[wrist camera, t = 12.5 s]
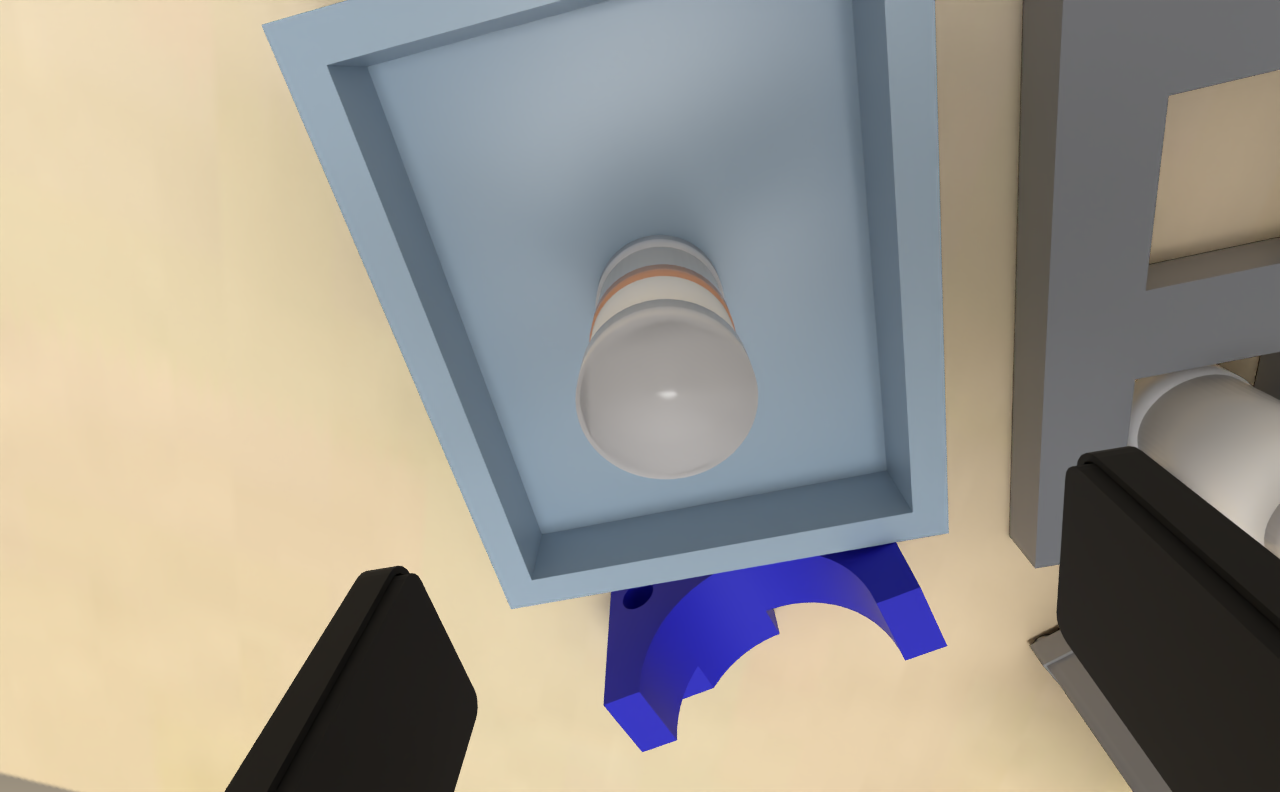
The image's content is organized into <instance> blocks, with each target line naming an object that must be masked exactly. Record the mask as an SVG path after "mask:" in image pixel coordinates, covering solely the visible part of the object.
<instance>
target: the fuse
mask: <svg viewBox="0 0 1280 792" xmlns="http://www.w3.org/2000/svg"><path fill="white" fill-rule="evenodd" d="M1127 446H1133V447H1136V448H1138V449H1140V450H1141V451H1143V452H1144V453H1145V454H1147V455H1148V456H1149V457H1150V458H1152V459H1153V460H1154V461H1156V462H1157V463H1158V464H1159V465H1161V466H1162V467H1163V468H1164V469H1166V470H1167V471H1168V472H1170V473H1171V474H1172V475H1173V476H1175V477H1176V478H1177V479H1179V480H1180V481H1181V482H1182V483H1184V484H1185V485H1186V486H1187V487H1189V488H1190V489H1191V490H1193V491H1194V492H1195V493H1196V494H1198V495H1199V496H1200V497H1201V498H1203V499H1204V500H1205V501H1207V502H1208V503H1209V504H1210V505H1212V506H1213V507H1214V508H1216V509H1217V510H1218V511H1219V512H1221V513H1222V514H1223V515H1224V516H1226V517H1227V518H1228V519H1230V520H1231V521H1232V522H1233V523H1235V524H1236V525H1237V526H1239V527H1240V528H1241V529H1242V530H1244V531H1245V532H1246V533H1247V534H1249V535H1250V536H1251V537H1253V538H1254V539H1255V540H1256V541H1258V542H1259V543H1260V544H1261V545H1263V546H1264V547H1265V548H1267V549H1268V550H1269V551H1270V552H1272V553H1273V554H1274V555H1276V556H1277V557H1278V558H1279V559H1280V400H1278V399H1276V398H1274V397H1272V396H1271V395H1269V394H1267V393H1265V392H1263V391H1261V390H1259V389H1257V388H1255V387H1253V386H1251V385H1250V384H1249V383H1248V382H1247V381H1246V380H1245V379H1243V378H1242V377H1240V376H1238V375H1236V374H1234V373H1232V372H1230V371H1228V370H1226V369H1224V368H1222V367H1220V366H1218V365H1216V364H1213V365H1208V366H1203V367H1198V368H1193V369H1187V370H1182V371H1177V372H1172V373H1167V374H1161V375H1156V376H1151V377H1146V378H1141V379H1138V380H1137V381H1135V385H1134V393H1133V402H1132V410H1131V419H1130V427H1129V436H1128V444H1127Z"/></svg>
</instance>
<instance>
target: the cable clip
mask: <svg viewBox="0 0 1280 792" xmlns="http://www.w3.org/2000/svg"><path fill="white" fill-rule="evenodd" d="M808 602H816V603H827V604H833V605H838V606H842V607H845V608H848V609H851V610H853V611H856V612H858V613H860V614H862V615H864V616H866V617H867V618H869V619H870V620H872V621H873V622H875V623H876V624H877V625H878V626H880V627H881V628H882V629H883V630H884V631H885V632H886V633H887V634H888V635H889V636H890V637H891V638H892V640H893V641H894V642H895V644H896V645H897V647H898V648H899V650H900V651H901V653H902V655H903V657H904V659H905V660H908V659H911V658H914V657H917V656H920V655H923V654H925V653H928V652H931V651H934V650H937V649H940V648H943V647H946V646H947V644H946V642H945V640H944V638H943V636H942V633H941V631H940V629H939V627H938V625H937V623H936V620H935V618H934V616H933V614H932V612H931V610H930V607H929V605H928V603H927V601H926V599H925V597H924V594H923V592H922V590H921V588H920V586H919V584H918V582H917V580H916V579H915V577H914V575H913V573H912V571H911V569H910V567H909V566H908V564H907V562H906V560H905V558H904V556H903V555H902V553H901V551H900V549H899V547H898V545H897V543H896V542H894V543H889V544H883V545H877V546H871V547H866V548H860V549H854V550H848V551H843V552H837V553H831V554H825V555H820V556H814V557H808V558H802V559H797V560H791V561H785V562H779V563H774V564H768V565H762V566H756V567H751V568H745V569H739V570H733V571H727V572H722V573H716V574H710V575H704V576H699V577H693V578H687V579H681V580H676V581H670V582H664V583H658V584H653V585H647V586H641V587H635V588H630V589H624V590H618V591H612V592H611V602H610V617H609V632H608V646H607V661H606V676H605V691H604V706H605V707H606V709H607V710H608V711H609V712H610V714H611V715H612V716H613V717H614V718H615V720H616V721H617V722H618V723H619V724H620V726H621V727H622V728H623V729H624V731H625V732H626V733H627V734H628V735H629V737H630V738H631V739H632V740H633V741H634V743H635V744H636V745H637V746H638V747H639V749H640V750H641V751H642V752H644V751H647V750H650V749H653V748H656V747H659V746H662V745H664V744H667V743H670V742H673V741H676V740H677V724H678V716H679V711H680V706H681V702H682V699H684V698H687V697H690V696H693V695H695V694H698V693H701V692H704V691H706V690H709V689H712V688H714V687H715V685H716V684H717V682H718V681H719V679H720V678H721V677H722V675H723V674H724V673H725V672H726V671H727V670H728V668H729V667H730V666H731V665H732V664H733V663H734V662H735V661H736V660H737V659H739V658H740V657H741V656H742V655H743V654H745V653H746V652H747V651H749V650H750V649H751V648H753V647H754V646H756V645H758V644H759V643H761V642H763V641H764V640H767V639H769V638H771V637H773V636H775V635H778V634H780V633H779V629H778V625H777V621H776V617H775V613H774V610H773V608H777V607H780V606H784V605H789V604H795V603H808Z"/></svg>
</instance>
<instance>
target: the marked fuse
mask: <svg viewBox="0 0 1280 792" xmlns="http://www.w3.org/2000/svg"><path fill="white" fill-rule="evenodd" d="M595 307H596V310H595V313H594V317H593V322H592V327H591V331H590V339H589V344H588V346H587V348H586V350H585V353H584V356H583V359H582V364H581V368H580V373H579V377H578V382H577V387H576V397H575V402H576V412H577V416H578V420H579V423H580V425H581V428H582V431H583V432H584V434H585V436H586V438H587V439H588V441H589V442H590V444H591V445H592V446H593V448H594V449H595V450H596V451H597V452H598V453H599V454H600V455H601V456H602V457H604V458H605V459H606V460H607V461H609V462H610V463H612V464H613V465H615V466H617V467H618V468H620V469H622V470H624V471H627V472H629V473H632V474H635V475H638V476H641V477H646V478H652V479H678V478H685V477H689V476H693V475H697V474H699V473H702V472H705V471H707V470H709V469H711V468H713V467H715V466H717V465H718V464H720V463H721V462H723V461H724V460H726V459H727V458H728V457H729V456H730V455H731V454H733V453H734V452H735V451H736V449H737V448H738V447H739V446H740V445H741V444H742V442H743V441H744V439H745V438H746V437H747V435H748V433H749V431H750V429H751V427H752V425H753V422H754V419H755V416H756V412H757V407H758V387H757V381H756V377H755V373H754V371H753V368H752V365H751V363H750V360H749V357H748V355H747V352H746V350H745V347H744V345H743V343H742V341H741V339H740V338H739V336H738V334H737V333H736V331H735V327H734V323H733V320H732V317H731V314H730V311H729V309H728V306H727V304H726V302H725V299H724V292H723V288H722V285H721V282H720V280H719V277H718V274H717V272H716V269H715V267H714V266H713V264H712V262H711V261H710V259H709V258H708V257H707V256H706V255H705V254H704V253H703V252H702V251H701V250H700V249H699V248H698V247H696V246H695V245H694V244H692V243H690V242H688V241H686V240H683V239H681V238H678V237H674V236H668V235H652V236H646V237H642V238H639V239H636V240H634V241H632V242H630V243H628V244H627V245H625V246H623V247H622V248H621V249H620V250H618V251H617V252H616V253H615V254H614V255H613V256H612V258H611V259H610V260H609V262H608V263H607V264H606V266H605V268H604V270H603V272H602V275H601V278H600V281H599V286H598V291H597V295H596V305H595Z"/></svg>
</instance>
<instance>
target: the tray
mask: <svg viewBox="0 0 1280 792" xmlns="http://www.w3.org/2000/svg"><path fill="white" fill-rule="evenodd" d="M262 27H263V30H264V32H265V34H266V37H267V39H268V41H269V44H270V46H271V48H272V51H273V53H274V55H275V58H276V60H277V62H278V65H279V67H280V69H281V72H282V74H283V76H284V79H285V81H286V83H287V86H288V88H289V90H290V93H291V95H292V98H293V100H294V102H295V105H296V107H297V109H298V112H299V114H300V116H301V119H302V121H303V123H304V126H305V128H306V130H307V133H308V135H309V137H310V140H311V142H312V144H313V147H314V149H315V151H316V154H317V156H318V158H319V161H320V163H321V165H322V168H323V170H324V172H325V175H326V177H327V179H328V182H329V184H330V186H331V189H332V191H333V193H334V196H335V198H336V201H337V203H338V205H339V208H340V210H341V212H342V215H343V217H344V219H345V222H346V224H347V226H348V229H349V231H350V233H351V236H352V238H353V240H354V243H355V245H356V247H357V250H358V252H359V254H360V257H361V259H362V261H363V264H364V266H365V268H366V271H367V273H368V275H369V278H370V280H371V282H372V285H373V287H374V289H375V292H376V294H377V296H378V299H379V301H380V303H381V306H382V308H383V311H384V313H385V315H386V318H387V320H388V322H389V325H390V327H391V329H392V332H393V334H394V336H395V339H396V341H397V343H398V346H399V348H400V350H401V353H402V355H403V357H404V360H405V362H406V364H407V367H408V369H409V371H410V374H411V376H412V378H413V381H414V383H415V385H416V388H417V390H418V392H419V395H420V397H421V399H422V402H423V404H424V406H425V409H426V411H427V413H428V416H429V418H430V421H431V423H432V425H433V428H434V430H435V432H436V435H437V437H438V439H439V442H440V444H441V446H442V449H443V451H444V453H445V456H446V458H447V460H448V463H449V465H450V467H451V470H452V472H453V474H454V477H455V479H456V481H457V484H458V486H459V488H460V491H461V493H462V495H463V498H464V500H465V502H466V505H467V507H468V509H469V512H470V514H471V516H472V519H473V521H474V523H475V526H476V528H477V531H478V533H479V535H480V538H481V540H482V542H483V545H484V547H485V549H486V552H487V554H488V556H489V559H490V561H491V563H492V566H493V568H494V570H495V573H496V575H497V577H498V580H499V582H500V584H501V587H502V589H503V591H504V594H505V596H506V598H507V601H508V603H509V605H510V608H511V609H515V608H520V607H526V606H532V605H538V604H543V603H549V602H555V601H561V600H566V599H572V598H578V597H584V596H589V595H595V594H601V593H607V592H612V591H618V590H624V589H630V588H635V587H641V586H647V585H653V584H658V583H664V582H670V581H676V580H681V579H687V578H693V577H699V576H704V575H710V574H716V573H722V572H727V571H733V570H739V569H745V568H751V567H756V566H762V565H768V564H774V563H779V562H785V561H791V560H797V559H802V558H808V557H814V556H820V555H825V554H831V553H837V552H843V551H848V550H854V549H860V548H866V547H871V546H877V545H883V544H889V543H894V542H900V541H906V540H912V539H917V538H923V537H929V536H935V535H940V534H946V533H949V528H948V489H947V450H946V412H945V373H944V335H943V296H942V257H941V219H940V180H939V142H938V103H937V64H936V26H935V0H347V1H343V2H340V3H336V4H333V5H329V6H326V7H322V8H319V9H315V10H312V11H308V12H305V13H301V14H298V15H294V16H291V17H287V18H284V19H280V20H277V21H273V22H270V23H266V24H263V25H262ZM652 235H668V236H674V237H678V238H681V239H683V240H686V241H688V242H690V243H692V244H694V245H695V246H696V247H698V248H699V249H700V250H701V251H702V252H703V253H704V254H705V255H706V256H707V257H708V258H709V259H710V261H711V262H712V264H713V266H714V267H715V269H716V272H717V274H718V277H719V280H720V282H721V285H722V288H723V292H724V299H725V302H726V304H727V306H728V309H729V311H730V314H731V317H732V320H733V323H734V327H735V331H736V333H737V334H738V336H739V338H740V339H741V341H742V343H743V345H744V347H745V350H746V352H747V355H748V357H749V360H750V363H751V365H752V368H753V371H754V373H755V377H756V381H757V387H758V407H757V412H756V416H755V419H754V422H753V425H752V427H751V429H750V431H749V433H748V435H747V437H746V438H745V439H744V441H743V442H742V444H741V445H740V446H739V447H738V448H737V449H736V451H735V452H734V453H733V454H731V455H730V456H729V457H728V458H727V459H726V460H724V461H723V462H721V463H720V464H718V465H717V466H715V467H713V468H711V469H709V470H707V471H705V472H702V473H699V474H697V475H693V476H689V477H685V478H678V479H652V478H646V477H641V476H638V475H635V474H632V473H629V472H627V471H624V470H622V469H620V468H618V467H617V466H615V465H613V464H612V463H610V462H609V461H607V460H606V459H605V458H604V457H602V456H601V455H600V454H599V453H598V452H597V451H596V450H595V449H594V448H593V446H592V445H591V444H590V442H589V441H588V439H587V438H586V436H585V434H584V432H583V431H582V428H581V425H580V423H579V420H578V416H577V412H576V402H575V397H576V387H577V382H578V377H579V373H580V368H581V364H582V359H583V356H584V353H585V350H586V348H587V346H588V344H589V339H590V331H591V327H592V322H593V317H594V313H595V310H596V307H595V305H596V295H597V291H598V286H599V281H600V278H601V275H602V272H603V270H604V268H605V266H606V264H607V263H608V262H609V260H610V259H611V258H612V256H613V255H614V254H615V253H616V252H617V251H618V250H620V249H621V248H622V247H623V246H625V245H627V244H628V243H630V242H632V241H634V240H636V239H639V238H642V237H646V236H652Z"/></svg>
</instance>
